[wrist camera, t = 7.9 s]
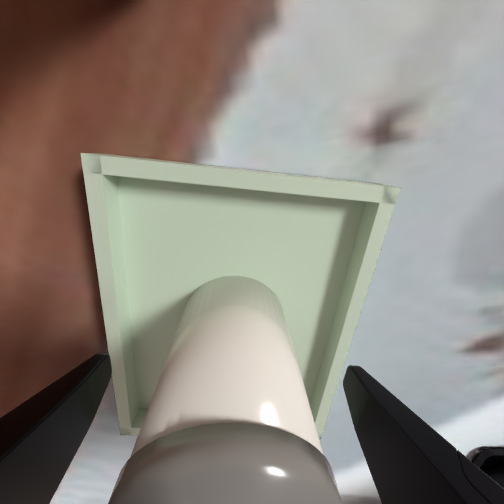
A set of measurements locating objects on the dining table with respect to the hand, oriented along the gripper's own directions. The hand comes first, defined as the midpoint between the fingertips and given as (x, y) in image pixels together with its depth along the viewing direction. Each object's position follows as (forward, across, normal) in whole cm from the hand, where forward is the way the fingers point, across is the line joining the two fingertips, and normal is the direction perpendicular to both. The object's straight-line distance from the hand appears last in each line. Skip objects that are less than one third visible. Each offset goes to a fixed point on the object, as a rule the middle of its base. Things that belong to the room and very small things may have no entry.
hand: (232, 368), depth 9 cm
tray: (+3, 0, 0) cm, 3 cm away
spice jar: (+3, 0, 0) cm, 3 cm away
